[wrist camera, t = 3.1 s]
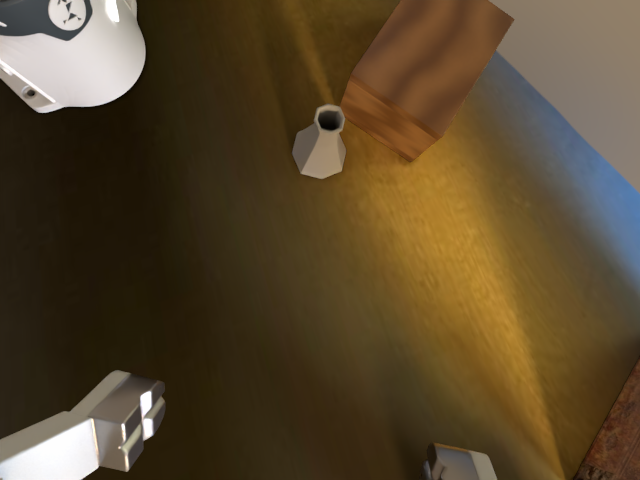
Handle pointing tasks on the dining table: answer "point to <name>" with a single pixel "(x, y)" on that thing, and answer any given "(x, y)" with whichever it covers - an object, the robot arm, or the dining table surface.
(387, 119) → the shelf
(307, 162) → the flask
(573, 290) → the dining table surface
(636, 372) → the book
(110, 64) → the robot arm
